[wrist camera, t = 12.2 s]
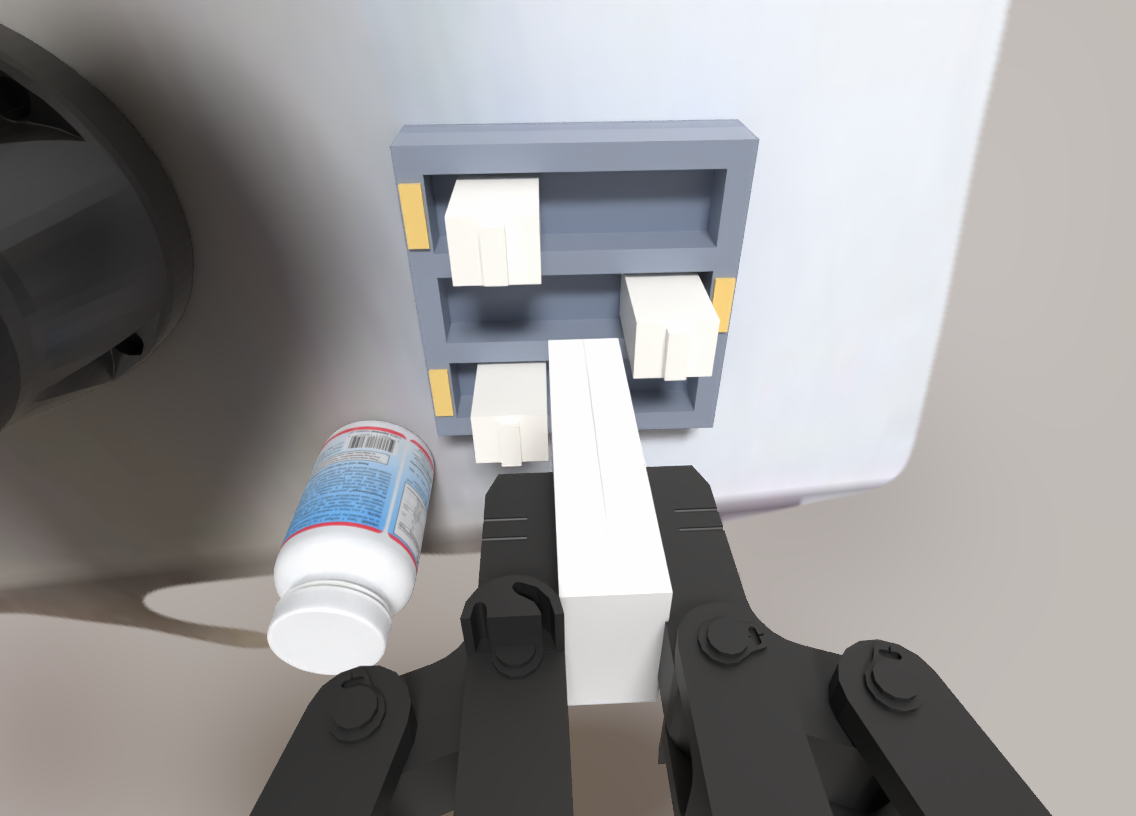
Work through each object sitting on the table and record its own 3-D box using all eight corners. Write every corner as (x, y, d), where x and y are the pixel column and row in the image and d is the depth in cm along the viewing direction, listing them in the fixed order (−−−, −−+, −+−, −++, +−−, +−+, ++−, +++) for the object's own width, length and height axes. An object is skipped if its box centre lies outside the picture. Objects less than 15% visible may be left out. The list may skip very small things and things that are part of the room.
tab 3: (619, 314, 28) (634, 386, 24) (621, 263, 27) (638, 329, 22) (686, 312, 28) (714, 383, 24) (692, 262, 27) (723, 327, 23)
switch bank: (445, 398, 32) (437, 438, 30) (404, 125, 25) (388, 147, 22) (699, 391, 33) (713, 429, 30) (737, 119, 25) (760, 140, 23)
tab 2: (484, 392, 31) (475, 470, 26) (479, 349, 29) (469, 424, 25) (546, 390, 31) (548, 468, 26) (545, 347, 29) (547, 422, 25)
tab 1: (466, 230, 26) (451, 293, 21) (460, 169, 24) (442, 222, 20) (540, 228, 26) (541, 290, 21) (538, 168, 25) (538, 220, 20)
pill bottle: (303, 469, 35) (221, 656, 26) (355, 396, 32) (284, 576, 23) (402, 515, 37) (358, 700, 28) (458, 450, 35) (430, 632, 26)
